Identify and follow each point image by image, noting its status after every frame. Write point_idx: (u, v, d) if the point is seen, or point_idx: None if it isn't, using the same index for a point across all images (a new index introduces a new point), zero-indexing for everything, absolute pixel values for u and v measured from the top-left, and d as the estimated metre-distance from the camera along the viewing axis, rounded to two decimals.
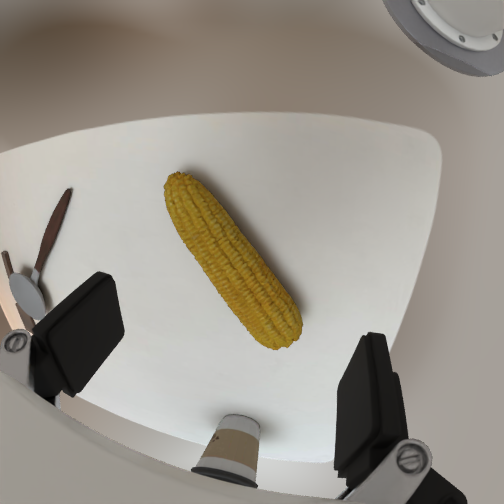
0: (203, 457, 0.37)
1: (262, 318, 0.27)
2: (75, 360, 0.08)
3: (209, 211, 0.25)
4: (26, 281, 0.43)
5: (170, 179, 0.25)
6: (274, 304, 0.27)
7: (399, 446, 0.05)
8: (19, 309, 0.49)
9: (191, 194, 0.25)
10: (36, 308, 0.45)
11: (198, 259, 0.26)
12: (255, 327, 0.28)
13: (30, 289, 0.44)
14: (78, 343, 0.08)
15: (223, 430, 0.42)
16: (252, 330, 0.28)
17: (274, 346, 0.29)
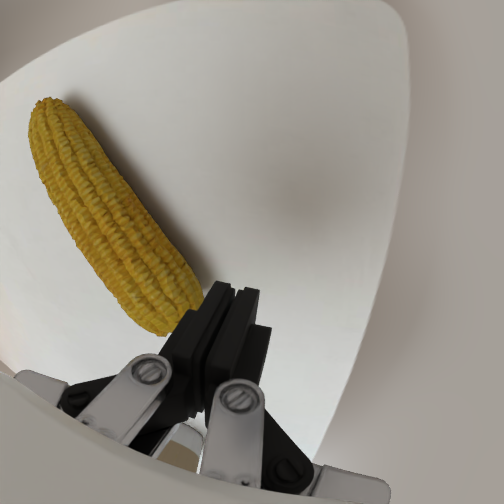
0: None
1: (123, 283, 0.17)
2: None
3: (62, 132, 0.15)
4: None
5: (36, 106, 0.15)
6: (141, 261, 0.17)
7: (229, 382, 0.07)
8: None
9: (47, 116, 0.14)
10: None
11: (51, 198, 0.16)
12: (119, 297, 0.17)
13: None
14: None
15: None
16: (121, 303, 0.18)
17: (154, 330, 0.18)
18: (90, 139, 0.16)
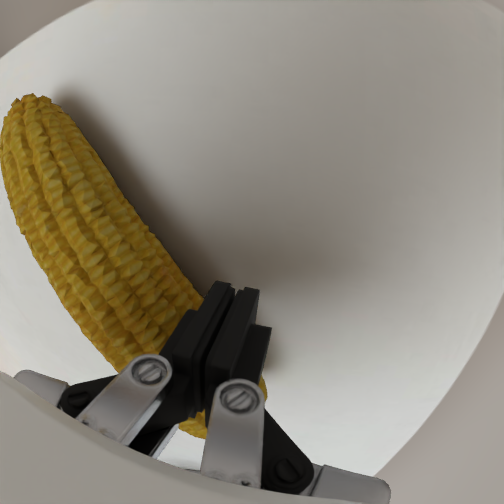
0: None
1: None
2: None
3: (47, 154, 0.09)
4: None
5: None
6: None
7: (229, 382, 0.07)
8: None
9: (25, 124, 0.08)
10: None
11: (36, 259, 0.10)
12: None
13: None
14: None
15: None
16: None
17: (204, 438, 0.12)
18: (94, 164, 0.10)
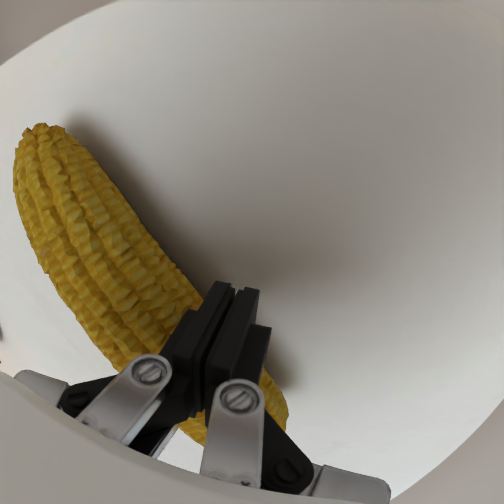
0: None
1: (197, 424, 0.11)
2: None
3: (69, 194, 0.09)
4: None
5: None
6: None
7: (229, 382, 0.07)
8: None
9: (41, 160, 0.09)
10: None
11: (62, 298, 0.10)
12: (188, 432, 0.12)
13: None
14: None
15: None
16: None
17: None
18: (118, 203, 0.11)
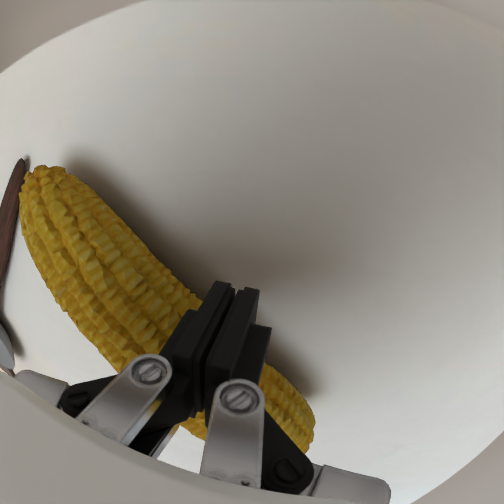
0: None
1: None
2: None
3: (77, 235, 0.10)
4: None
5: None
6: None
7: (229, 382, 0.07)
8: None
9: (45, 203, 0.10)
10: (4, 351, 0.26)
11: (83, 333, 0.11)
12: None
13: None
14: None
15: None
16: None
17: None
18: (126, 237, 0.12)
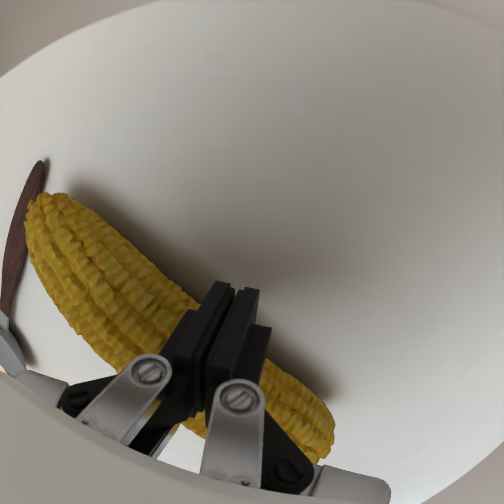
0: None
1: None
2: None
3: (85, 259, 0.10)
4: None
5: None
6: None
7: (229, 382, 0.07)
8: None
9: (51, 231, 0.10)
10: (14, 360, 0.26)
11: (99, 355, 0.11)
12: None
13: None
14: None
15: None
16: None
17: None
18: (134, 258, 0.12)
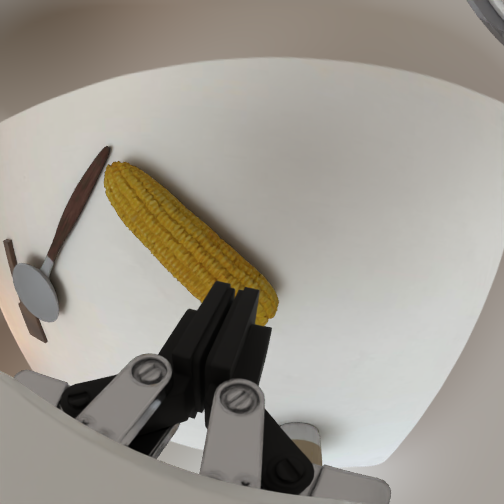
0: None
1: None
2: None
3: (144, 189, 0.23)
4: (34, 274, 0.36)
5: (107, 170, 0.24)
6: (232, 276, 0.24)
7: (229, 382, 0.07)
8: (23, 310, 0.42)
9: (125, 177, 0.23)
10: (45, 308, 0.38)
11: (143, 242, 0.24)
12: None
13: (38, 284, 0.37)
14: None
15: None
16: None
17: None
18: (167, 192, 0.25)
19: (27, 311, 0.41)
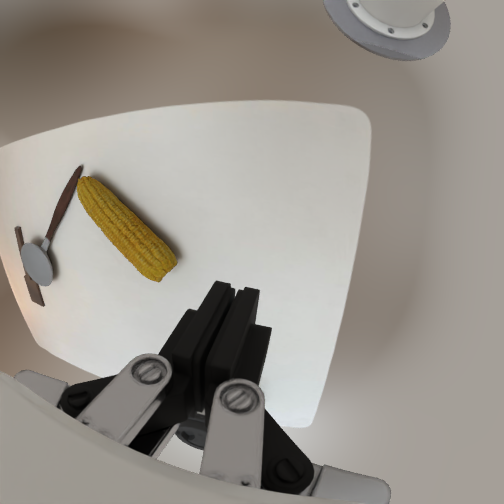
0: None
1: (136, 254, 0.38)
2: None
3: (97, 193, 0.37)
4: (36, 251, 0.51)
5: (78, 181, 0.38)
6: (142, 243, 0.38)
7: (229, 382, 0.07)
8: (27, 281, 0.57)
9: (87, 186, 0.37)
10: (44, 276, 0.53)
11: (97, 224, 0.38)
12: (135, 263, 0.38)
13: (39, 259, 0.52)
14: None
15: None
16: (137, 267, 0.39)
17: (153, 277, 0.39)
18: (111, 194, 0.39)
19: (30, 281, 0.56)
